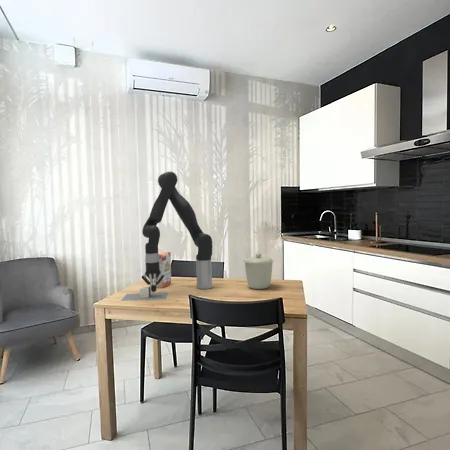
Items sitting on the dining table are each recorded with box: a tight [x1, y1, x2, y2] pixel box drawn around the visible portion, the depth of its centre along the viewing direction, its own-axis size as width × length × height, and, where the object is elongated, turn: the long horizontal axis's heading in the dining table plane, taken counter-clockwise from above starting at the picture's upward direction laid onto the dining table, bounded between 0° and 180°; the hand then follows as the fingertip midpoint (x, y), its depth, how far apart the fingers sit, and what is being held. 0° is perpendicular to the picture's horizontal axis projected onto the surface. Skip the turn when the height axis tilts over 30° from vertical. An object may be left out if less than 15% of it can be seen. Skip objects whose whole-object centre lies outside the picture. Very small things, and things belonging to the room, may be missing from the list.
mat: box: [120, 291, 169, 302], centre depth 184 cm, size 24×14×1 cm, turn 94°
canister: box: [243, 252, 274, 290], centre depth 199 cm, size 18×18×21 cm
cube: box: [139, 285, 152, 298], centre depth 184 cm, size 5×5×5 cm
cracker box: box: [156, 251, 172, 289], centre depth 209 cm, size 14×6×21 cm, turn 168°
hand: (153, 291), depth 184 cm, fingers closed
